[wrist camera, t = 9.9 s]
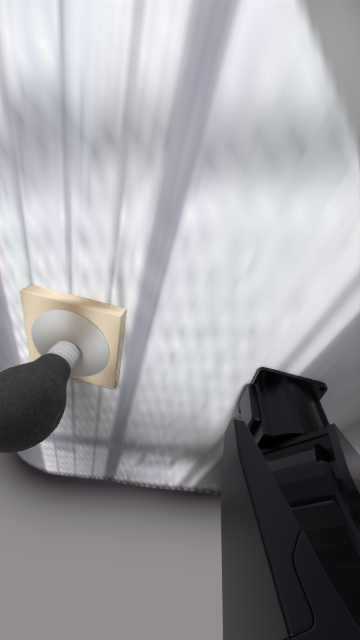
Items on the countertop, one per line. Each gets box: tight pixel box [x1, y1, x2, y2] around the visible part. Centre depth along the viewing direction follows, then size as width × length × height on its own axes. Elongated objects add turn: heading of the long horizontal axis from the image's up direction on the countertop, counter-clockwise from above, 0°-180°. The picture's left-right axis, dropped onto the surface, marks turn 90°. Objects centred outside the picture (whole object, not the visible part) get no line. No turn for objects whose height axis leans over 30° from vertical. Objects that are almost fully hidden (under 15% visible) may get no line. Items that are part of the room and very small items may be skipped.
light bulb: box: [0, 341, 80, 453], centre depth 20 cm, size 6×6×10 cm
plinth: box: [20, 284, 126, 389], centre depth 25 cm, size 9×9×2 cm
